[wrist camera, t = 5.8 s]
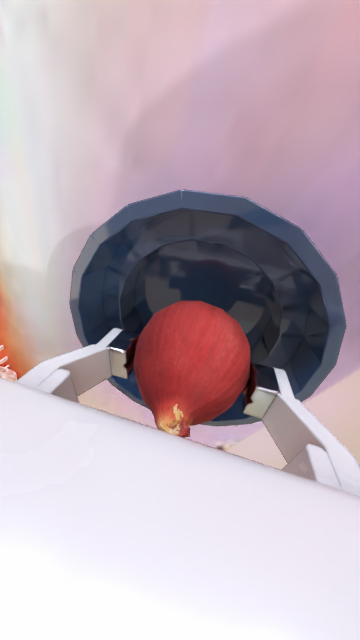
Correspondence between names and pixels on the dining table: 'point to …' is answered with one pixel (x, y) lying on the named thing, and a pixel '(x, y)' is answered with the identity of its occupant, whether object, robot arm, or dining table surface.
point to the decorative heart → (7, 369)
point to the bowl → (213, 283)
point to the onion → (191, 364)
